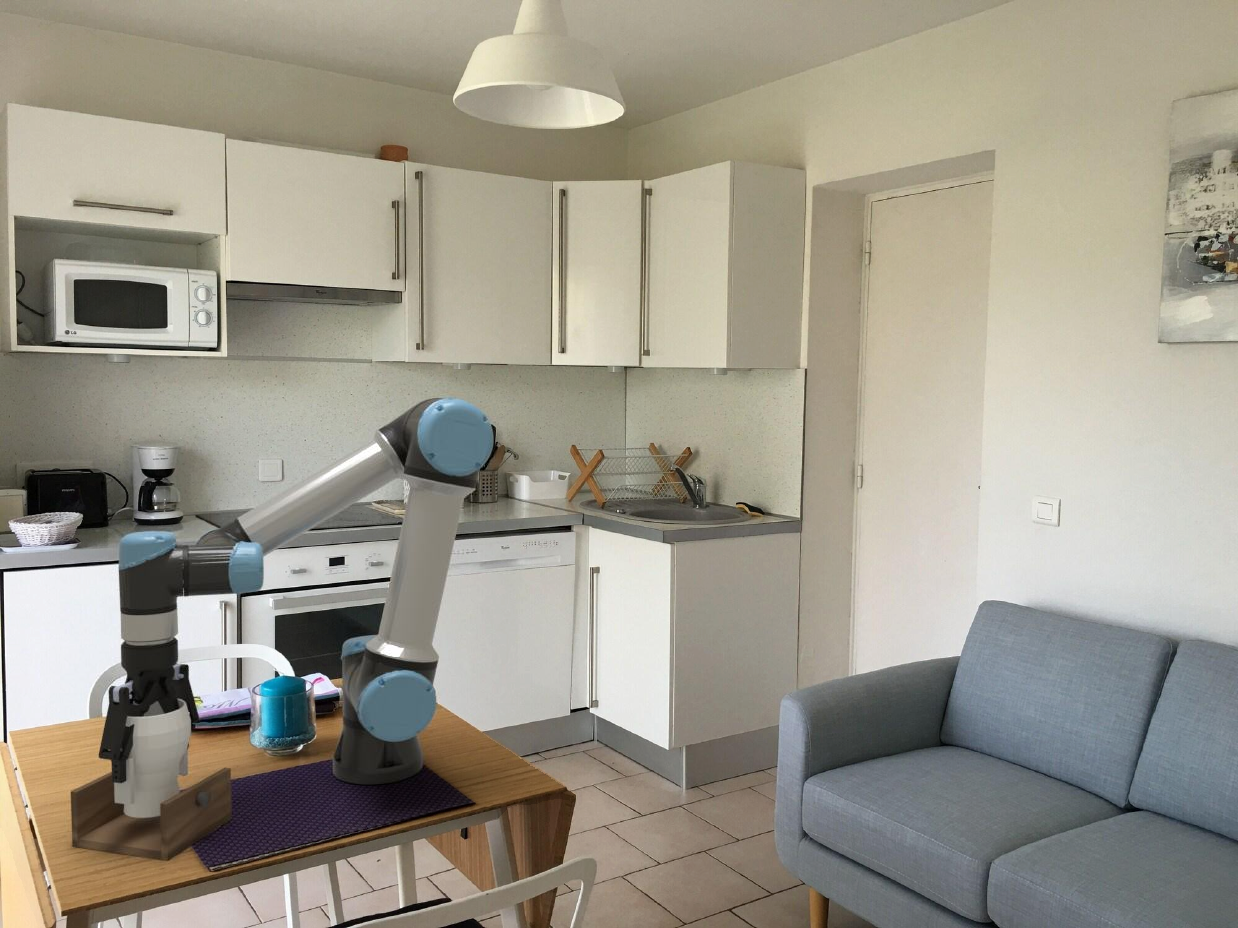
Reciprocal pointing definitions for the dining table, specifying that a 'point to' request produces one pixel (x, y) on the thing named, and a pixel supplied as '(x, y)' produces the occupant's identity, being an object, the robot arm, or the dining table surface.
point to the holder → (149, 818)
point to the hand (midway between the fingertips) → (152, 787)
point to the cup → (157, 757)
